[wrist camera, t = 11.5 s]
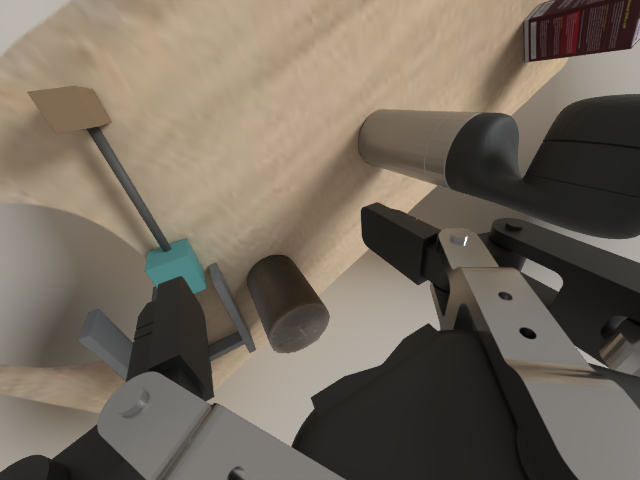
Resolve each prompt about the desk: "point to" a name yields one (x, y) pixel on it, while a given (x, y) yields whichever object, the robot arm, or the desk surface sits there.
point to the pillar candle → (286, 304)
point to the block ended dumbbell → (88, 113)
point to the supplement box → (580, 28)
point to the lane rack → (118, 348)
